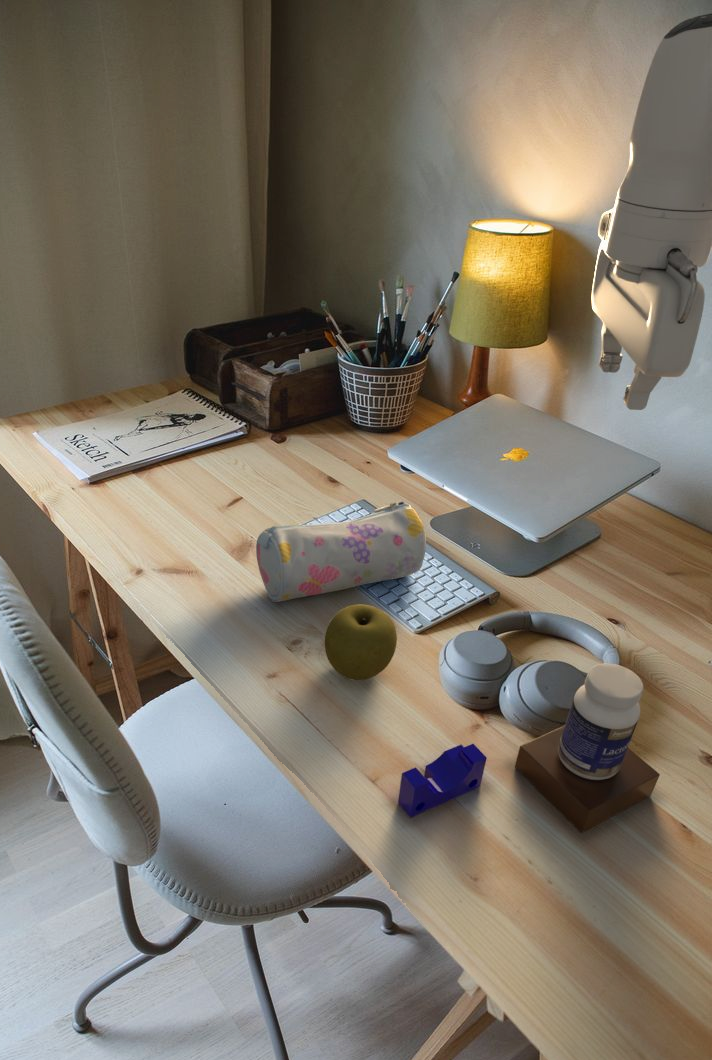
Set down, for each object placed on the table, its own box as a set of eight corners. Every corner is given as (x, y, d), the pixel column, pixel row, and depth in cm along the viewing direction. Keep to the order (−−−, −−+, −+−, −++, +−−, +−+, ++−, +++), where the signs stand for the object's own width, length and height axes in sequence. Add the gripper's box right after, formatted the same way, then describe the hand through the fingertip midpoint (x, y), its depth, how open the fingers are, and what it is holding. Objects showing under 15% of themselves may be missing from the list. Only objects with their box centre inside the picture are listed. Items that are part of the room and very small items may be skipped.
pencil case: (396, 549, 111) (403, 486, 105) (429, 584, 105) (438, 519, 99) (250, 582, 104) (249, 517, 98) (276, 621, 98) (276, 553, 92)
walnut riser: (581, 735, 84) (588, 714, 82) (651, 795, 78) (660, 774, 76) (514, 767, 80) (519, 745, 78) (581, 833, 74) (589, 811, 72)
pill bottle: (602, 792, 74) (632, 712, 68) (545, 760, 77) (569, 680, 71) (630, 758, 77) (661, 678, 71) (574, 728, 80) (599, 649, 74)
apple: (407, 668, 91) (414, 617, 87) (359, 703, 87) (364, 651, 82) (356, 637, 96) (360, 587, 91) (308, 669, 91) (310, 617, 87)
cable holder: (457, 762, 80) (463, 733, 78) (480, 786, 78) (486, 757, 76) (389, 791, 77) (392, 761, 75) (410, 817, 75) (414, 788, 72)
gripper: (741, 269, 65) (687, 433, 73) (661, 213, 81) (624, 353, 89) (660, 267, 65) (615, 431, 73) (596, 211, 81) (566, 351, 89)
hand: (620, 387), depth 81 cm, fingers open, 8 cm apart
